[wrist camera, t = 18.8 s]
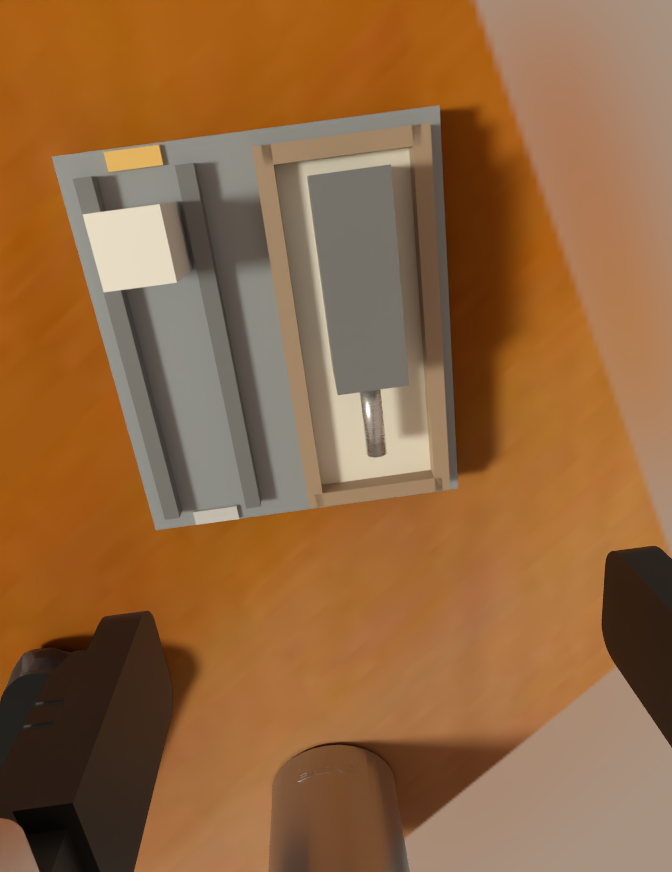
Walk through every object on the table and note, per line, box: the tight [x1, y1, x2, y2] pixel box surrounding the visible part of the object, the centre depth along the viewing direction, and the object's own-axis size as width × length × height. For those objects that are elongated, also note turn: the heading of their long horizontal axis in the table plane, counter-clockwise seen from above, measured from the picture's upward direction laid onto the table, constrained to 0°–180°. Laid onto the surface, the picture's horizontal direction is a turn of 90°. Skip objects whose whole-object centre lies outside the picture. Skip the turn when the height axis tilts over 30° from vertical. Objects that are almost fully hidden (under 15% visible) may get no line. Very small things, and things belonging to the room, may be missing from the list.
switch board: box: [52, 105, 458, 530], centre depth 30 cm, size 19×17×3 cm
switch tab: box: [82, 201, 193, 292], centre depth 26 cm, size 3×3×4 cm
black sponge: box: [0, 648, 71, 769], centre depth 40 cm, size 16×8×4 cm, turn 158°
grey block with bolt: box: [307, 164, 409, 458], centre depth 28 cm, size 13×3×4 cm, turn 7°
